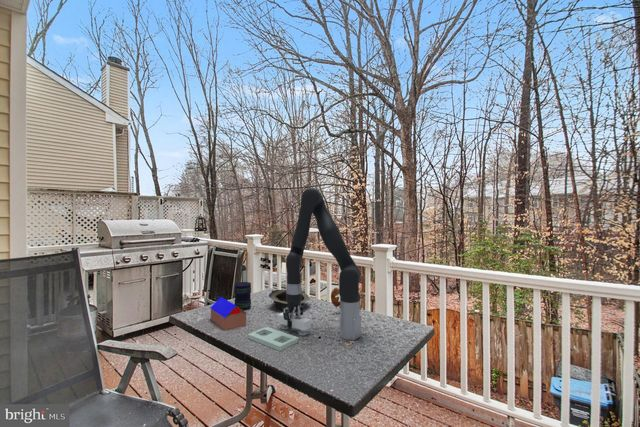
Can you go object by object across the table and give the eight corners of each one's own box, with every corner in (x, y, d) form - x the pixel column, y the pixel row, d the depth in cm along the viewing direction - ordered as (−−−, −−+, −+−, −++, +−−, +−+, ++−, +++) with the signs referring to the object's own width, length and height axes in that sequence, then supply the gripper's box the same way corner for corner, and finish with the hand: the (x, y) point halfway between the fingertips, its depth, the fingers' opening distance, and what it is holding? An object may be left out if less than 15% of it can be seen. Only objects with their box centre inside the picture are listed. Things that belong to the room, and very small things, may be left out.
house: (224, 331, 156) (224, 307, 155) (210, 320, 171) (210, 298, 171) (246, 325, 163) (247, 303, 163) (231, 315, 179) (231, 295, 178)
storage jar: (234, 306, 194) (234, 282, 194) (250, 305, 197) (250, 281, 197) (234, 311, 185) (234, 286, 184) (251, 310, 188) (251, 285, 187)
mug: (355, 312, 186) (356, 286, 185) (356, 316, 177) (356, 290, 177) (331, 311, 187) (331, 285, 187) (330, 315, 179) (330, 289, 179)
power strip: (310, 333, 152) (311, 319, 152) (304, 337, 148) (304, 322, 148) (284, 325, 163) (284, 311, 163) (277, 328, 159) (277, 314, 159)
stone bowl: (271, 300, 207) (272, 286, 207) (309, 303, 207) (310, 289, 207) (264, 312, 182) (266, 296, 182) (307, 316, 182) (309, 300, 182)
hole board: (298, 341, 143) (298, 337, 143) (280, 351, 134) (280, 346, 134) (266, 330, 156) (267, 326, 156) (247, 338, 147) (247, 334, 147)
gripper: (289, 296, 148) (289, 332, 148) (309, 290, 159) (308, 323, 159) (278, 293, 152) (277, 328, 153) (297, 288, 164) (297, 320, 164)
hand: (293, 326), depth 156 cm, fingers closed on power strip, 5 cm apart
